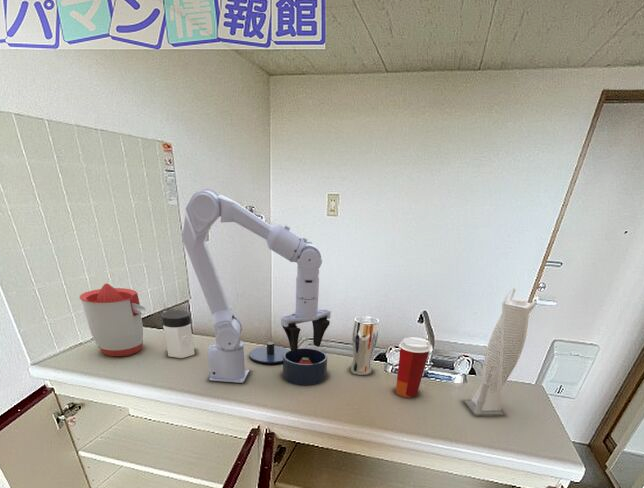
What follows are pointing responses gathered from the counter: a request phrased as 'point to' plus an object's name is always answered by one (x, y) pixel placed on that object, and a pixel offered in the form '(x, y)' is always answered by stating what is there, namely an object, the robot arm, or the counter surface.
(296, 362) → the pot
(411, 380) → the paper cup
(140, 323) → the citrus juicer
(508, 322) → the skyscraper
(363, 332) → the beer glass
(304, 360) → the strawberry
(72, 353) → the counter surface
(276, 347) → the lid
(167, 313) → the jar
